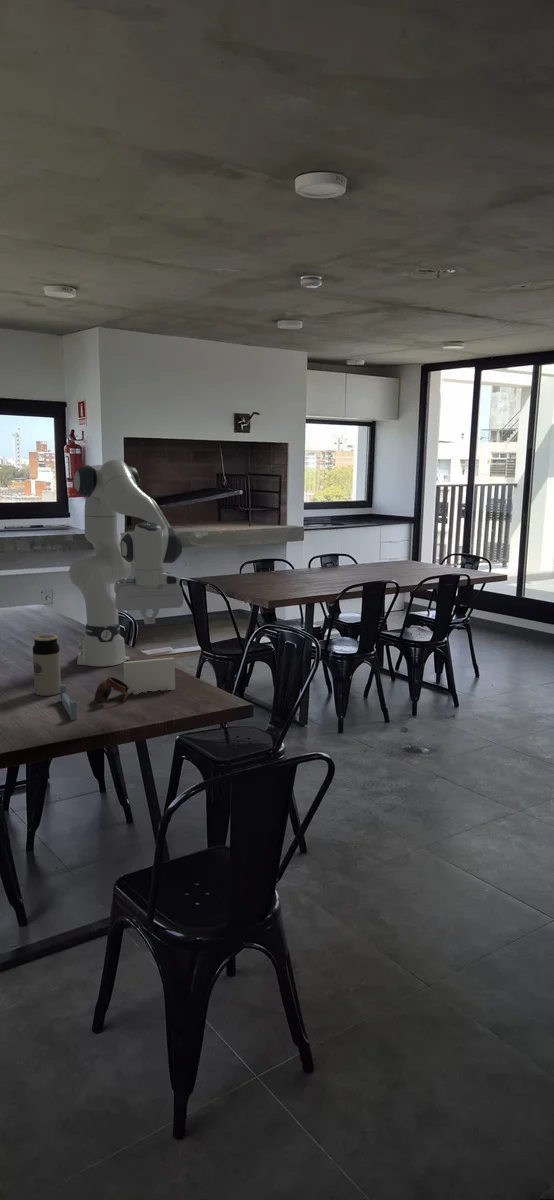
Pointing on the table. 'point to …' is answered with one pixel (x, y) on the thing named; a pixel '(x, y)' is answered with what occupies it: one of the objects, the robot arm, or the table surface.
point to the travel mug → (46, 665)
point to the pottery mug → (105, 689)
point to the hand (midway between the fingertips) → (149, 623)
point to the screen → (149, 675)
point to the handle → (68, 703)
